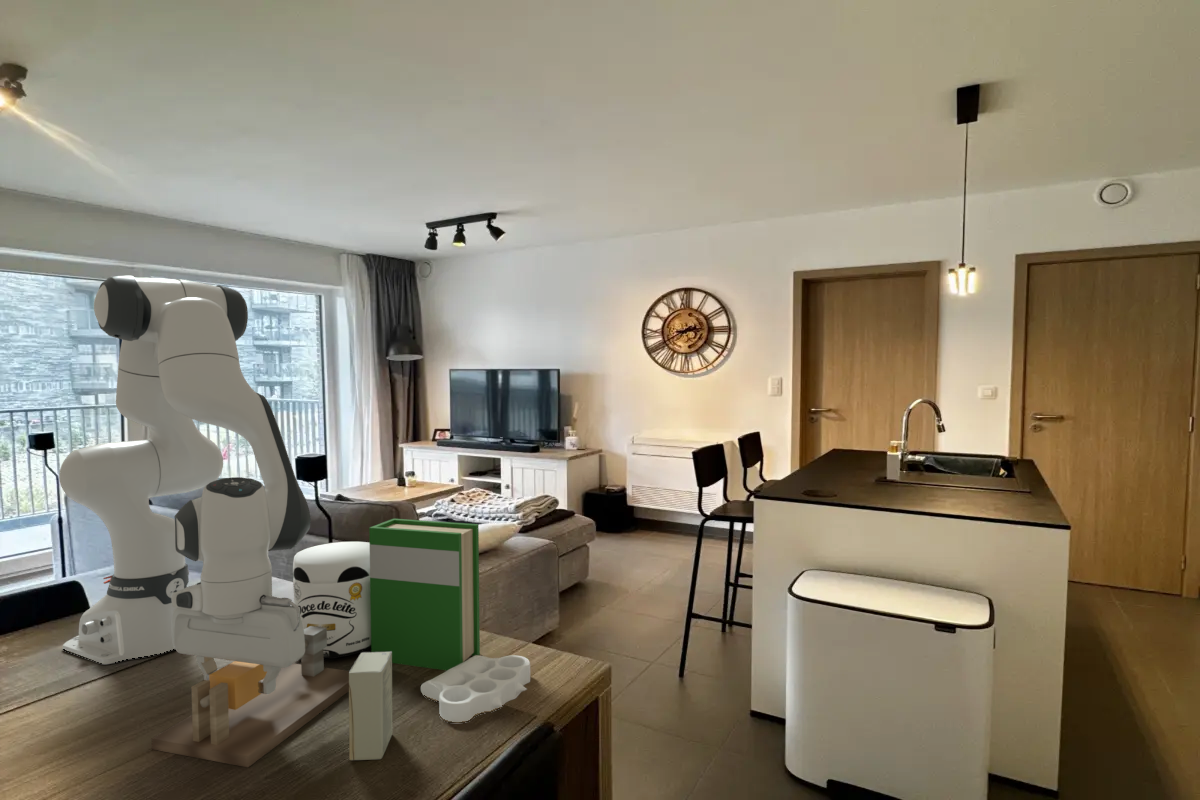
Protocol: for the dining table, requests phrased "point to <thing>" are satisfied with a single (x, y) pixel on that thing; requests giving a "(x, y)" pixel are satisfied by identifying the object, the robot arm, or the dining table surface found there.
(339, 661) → the dining table surface
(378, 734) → the skincare box
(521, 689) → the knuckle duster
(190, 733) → the board
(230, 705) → the marker sleeve
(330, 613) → the milk container
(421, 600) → the hardback book
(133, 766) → the dining table surface
